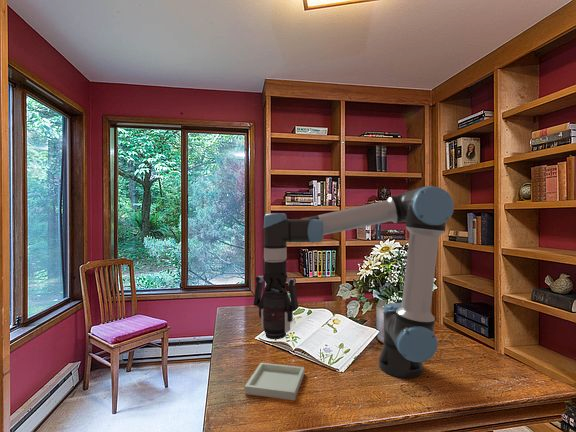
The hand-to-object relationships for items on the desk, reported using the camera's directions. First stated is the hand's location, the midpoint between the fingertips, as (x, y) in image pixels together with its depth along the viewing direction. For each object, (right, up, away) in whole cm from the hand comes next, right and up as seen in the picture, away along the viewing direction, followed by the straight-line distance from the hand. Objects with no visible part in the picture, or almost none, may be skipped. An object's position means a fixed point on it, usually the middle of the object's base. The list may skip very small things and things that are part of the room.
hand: (275, 329), depth 108 cm
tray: (0, -18, 0) cm, 18 cm away
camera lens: (0, -2, 0) cm, 2 cm away
